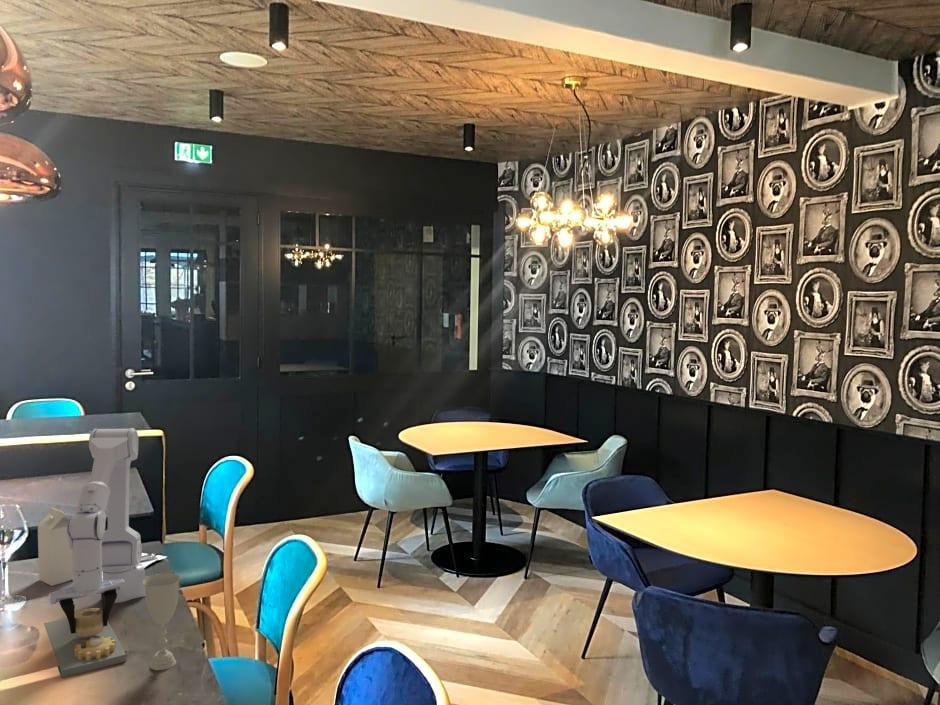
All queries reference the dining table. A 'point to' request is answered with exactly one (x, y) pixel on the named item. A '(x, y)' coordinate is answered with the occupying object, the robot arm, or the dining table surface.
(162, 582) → the chalice
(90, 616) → the wooden ring spacer
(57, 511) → the milk carton
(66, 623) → the gear board
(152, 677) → the dining table surface
